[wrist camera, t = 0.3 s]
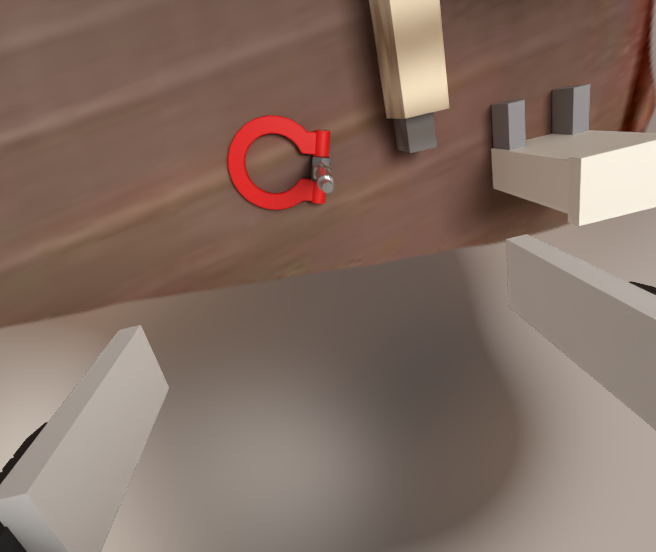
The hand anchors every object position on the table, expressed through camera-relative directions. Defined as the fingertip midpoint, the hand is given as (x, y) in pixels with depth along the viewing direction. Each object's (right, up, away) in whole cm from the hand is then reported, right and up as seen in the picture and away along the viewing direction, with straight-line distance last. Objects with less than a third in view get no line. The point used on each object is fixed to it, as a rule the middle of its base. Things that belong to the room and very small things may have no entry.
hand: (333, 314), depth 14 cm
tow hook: (-5, +12, +23) cm, 27 cm away
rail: (+6, +20, +21) cm, 30 cm away
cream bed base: (+20, +15, +25) cm, 35 cm away
